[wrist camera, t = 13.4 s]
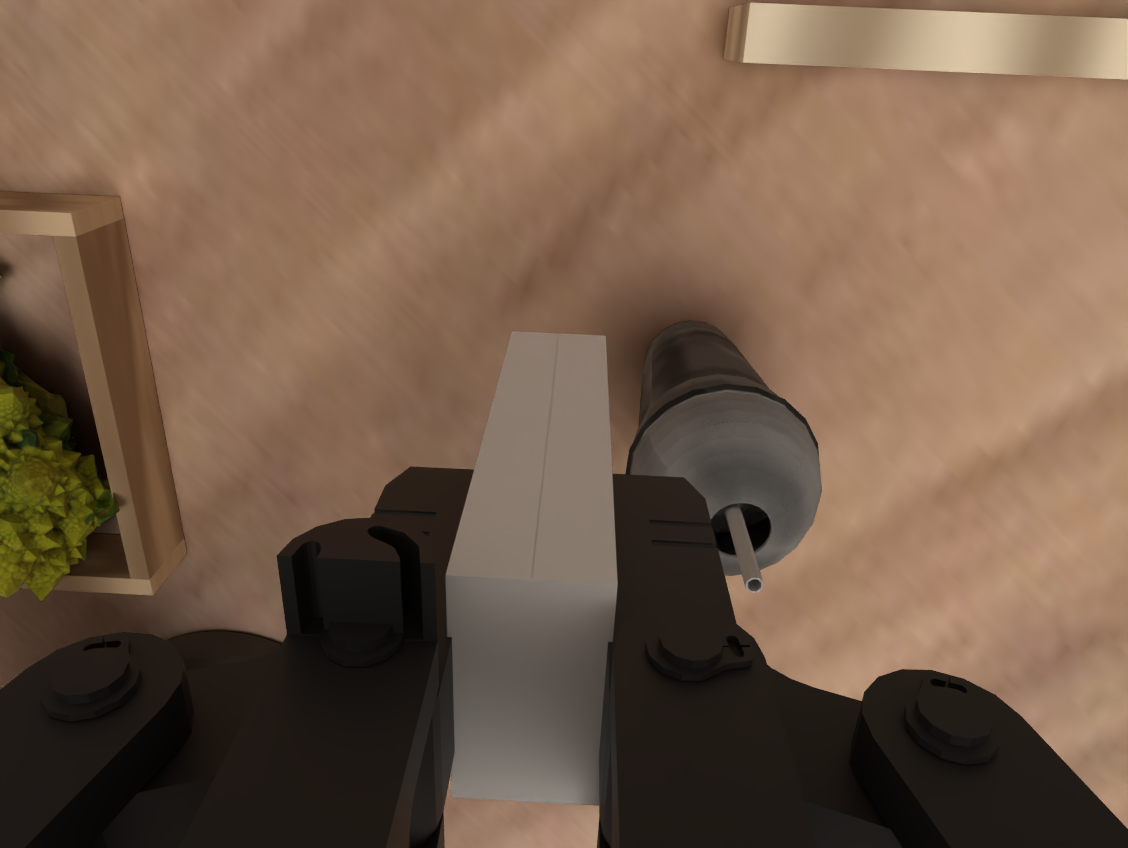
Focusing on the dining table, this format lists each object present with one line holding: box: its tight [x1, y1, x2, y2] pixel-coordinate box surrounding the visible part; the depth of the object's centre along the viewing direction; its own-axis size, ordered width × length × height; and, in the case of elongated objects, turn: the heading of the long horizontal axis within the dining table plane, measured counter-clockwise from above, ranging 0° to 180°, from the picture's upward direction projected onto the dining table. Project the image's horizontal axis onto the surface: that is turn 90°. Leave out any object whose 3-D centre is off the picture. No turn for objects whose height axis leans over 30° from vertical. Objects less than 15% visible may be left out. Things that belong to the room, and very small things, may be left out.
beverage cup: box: [626, 321, 822, 593], centre depth 32 cm, size 7×7×20 cm
